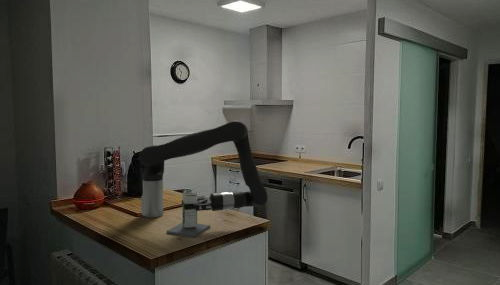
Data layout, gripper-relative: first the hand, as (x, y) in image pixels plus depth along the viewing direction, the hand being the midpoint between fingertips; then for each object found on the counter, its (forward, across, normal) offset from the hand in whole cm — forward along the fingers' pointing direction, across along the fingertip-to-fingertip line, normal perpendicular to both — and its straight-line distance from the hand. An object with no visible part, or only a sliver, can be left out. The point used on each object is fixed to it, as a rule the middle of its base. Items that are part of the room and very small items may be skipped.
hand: (183, 204), depth 142 cm
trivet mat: (-2, 0, +11) cm, 11 cm away
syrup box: (-3, 0, +9) cm, 10 cm away
